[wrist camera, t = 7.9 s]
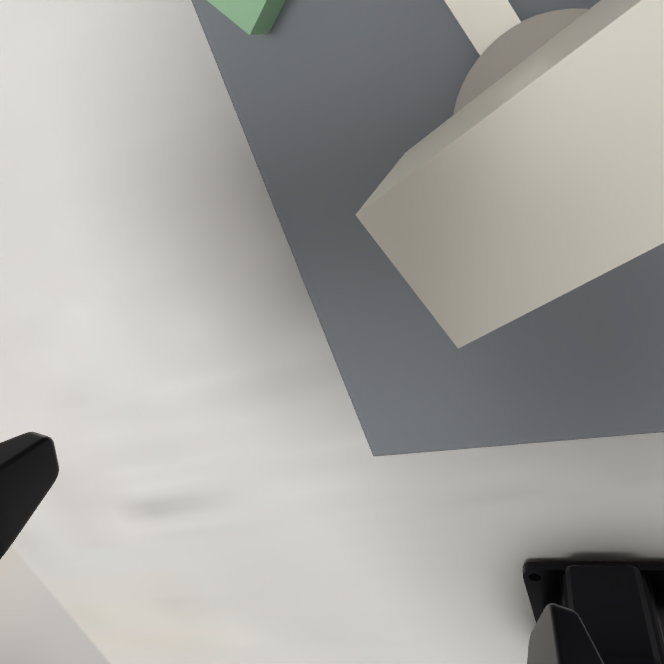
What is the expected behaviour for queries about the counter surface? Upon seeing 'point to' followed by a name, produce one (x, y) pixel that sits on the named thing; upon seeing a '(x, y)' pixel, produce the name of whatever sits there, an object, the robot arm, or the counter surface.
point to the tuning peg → (532, 164)
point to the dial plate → (376, 268)
